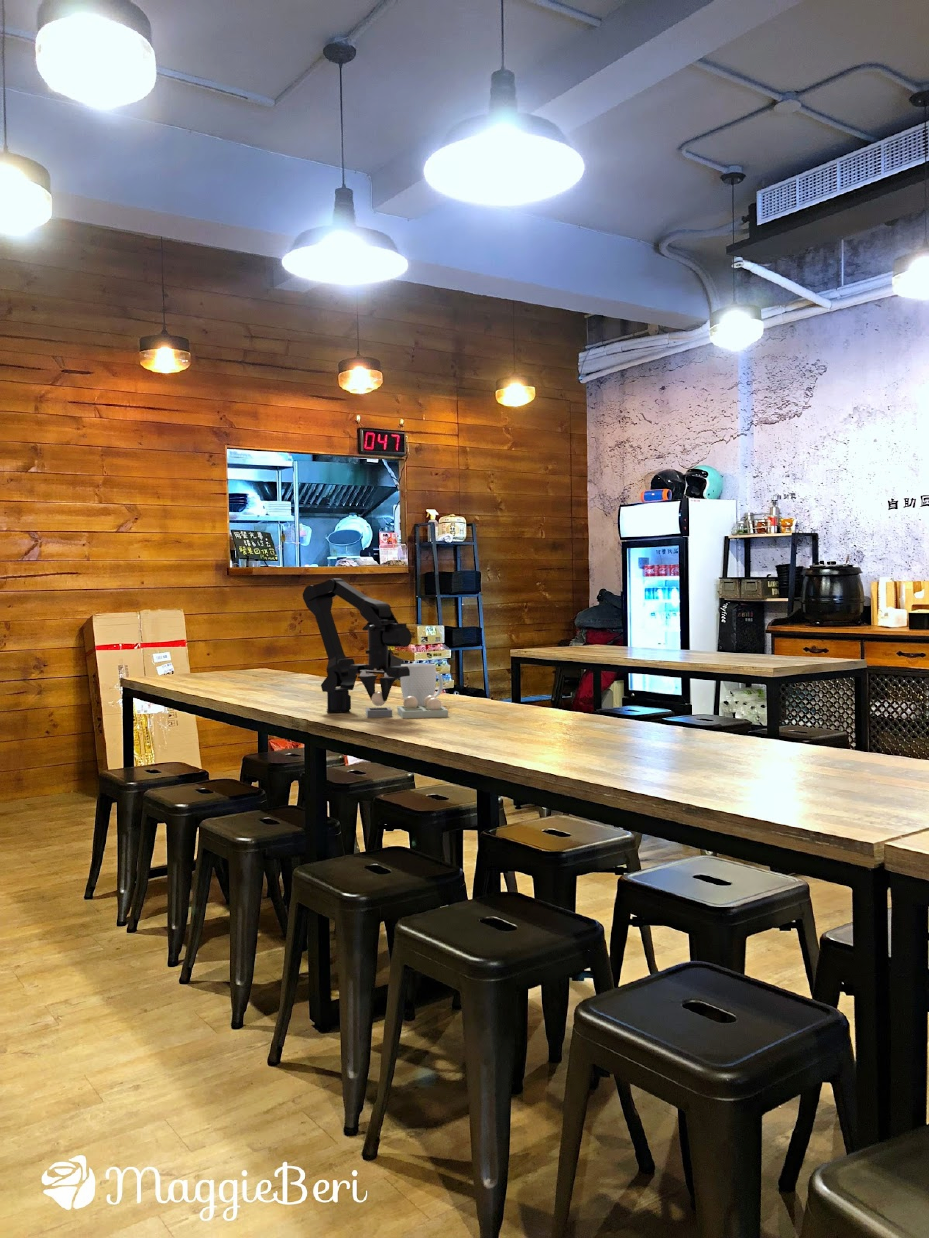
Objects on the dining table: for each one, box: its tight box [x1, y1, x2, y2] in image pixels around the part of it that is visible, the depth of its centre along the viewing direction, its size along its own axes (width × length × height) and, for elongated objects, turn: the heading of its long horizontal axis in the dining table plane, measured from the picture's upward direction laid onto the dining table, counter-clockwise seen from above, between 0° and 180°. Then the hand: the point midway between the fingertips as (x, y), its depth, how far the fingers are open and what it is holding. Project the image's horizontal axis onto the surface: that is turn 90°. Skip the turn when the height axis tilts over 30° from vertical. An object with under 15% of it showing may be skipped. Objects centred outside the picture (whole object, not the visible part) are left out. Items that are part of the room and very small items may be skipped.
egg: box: [371, 690, 387, 707], centre depth 273 cm, size 4×4×4 cm
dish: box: [365, 706, 393, 718], centre depth 273 cm, size 7×7×2 cm
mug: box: [399, 662, 444, 706], centre depth 295 cm, size 15×11×13 cm
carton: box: [396, 695, 449, 719], centre depth 275 cm, size 13×13×5 cm
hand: (378, 700), depth 273 cm, fingers closed on egg, 4 cm apart
